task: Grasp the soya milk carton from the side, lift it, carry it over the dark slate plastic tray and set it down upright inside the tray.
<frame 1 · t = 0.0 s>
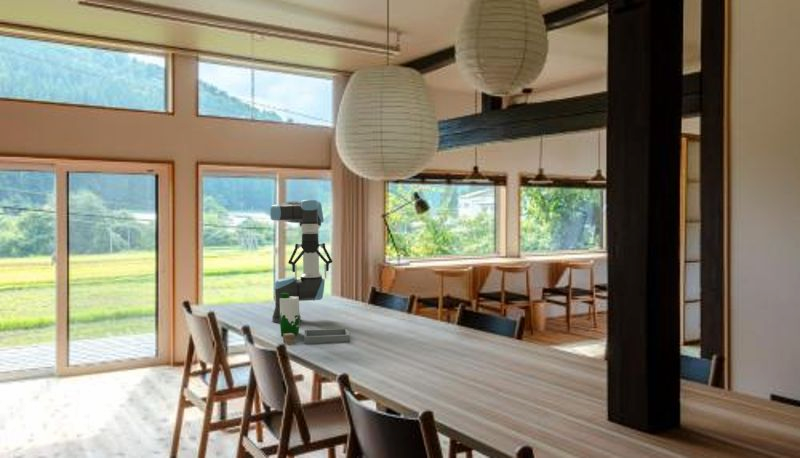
hand: (310, 278, 284), 28 cm above the table, fingers open, 13 cm apart
soya milk: (290, 335, 295), on the table
walnut block: (289, 342, 277), on the table
tray: (326, 339, 283), on the table
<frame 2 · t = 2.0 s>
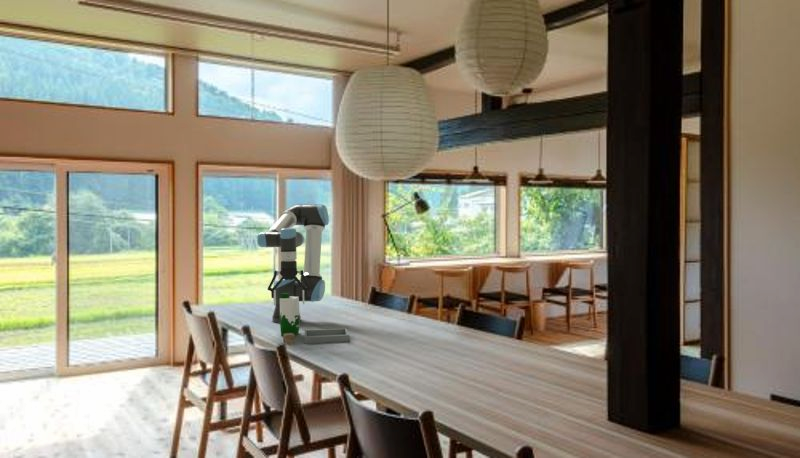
hand: (289, 304, 294), 15 cm above the table, fingers open, 13 cm apart
nothing on the table moved.
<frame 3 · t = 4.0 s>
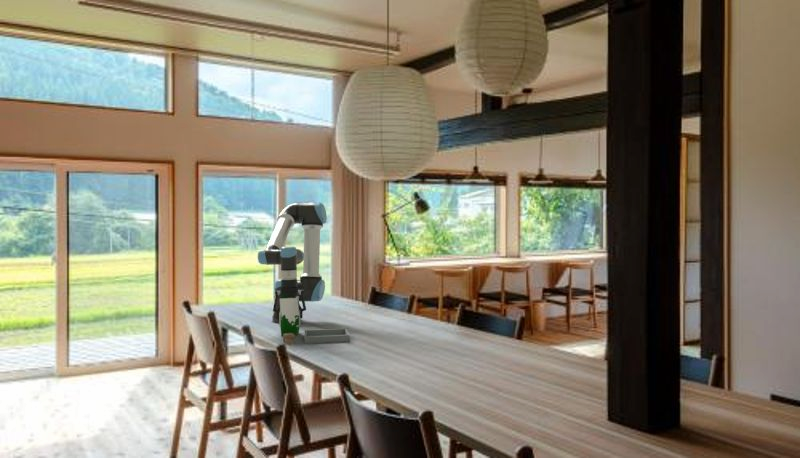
hand: (289, 325, 294), 4 cm above the table, fingers closed on soya milk, 8 cm apart
soya milk: (290, 334, 295), on the table, touching gripper
everything else where it was.
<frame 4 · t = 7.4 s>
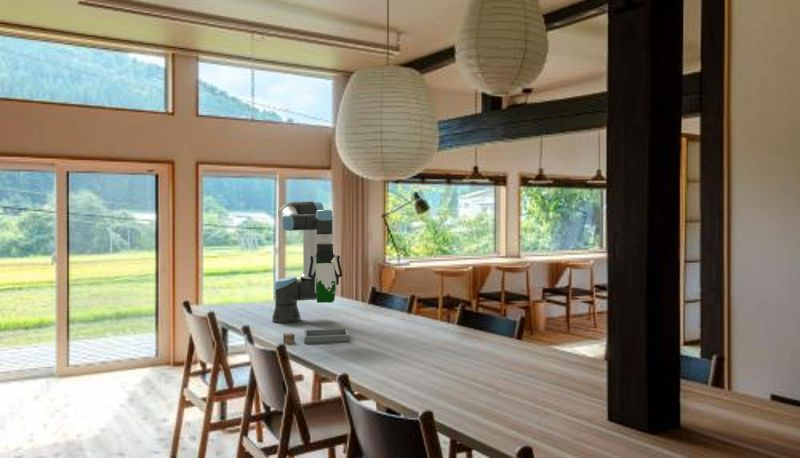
hand: (325, 292, 282), 22 cm above the table, fingers closed on soya milk, 8 cm apart
soya milk: (326, 301, 283), point 17 cm above the table, touching gripper
everything else where it was.
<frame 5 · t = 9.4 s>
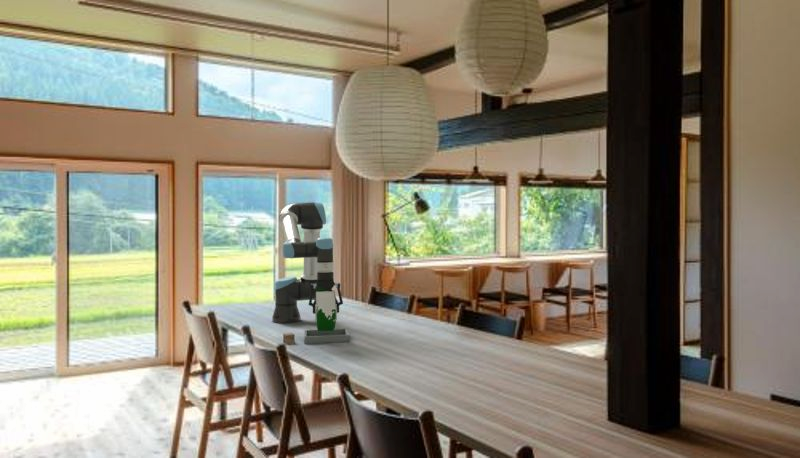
hand: (326, 320, 283), 9 cm above the table, fingers closed on soya milk, 8 cm apart
soya milk: (326, 329, 283), point 4 cm above the table, touching gripper
everything else where it was.
when the fingers open (7 cm above the table, at t = 10.8 s): soya milk drops 2 cm, resting on tray.
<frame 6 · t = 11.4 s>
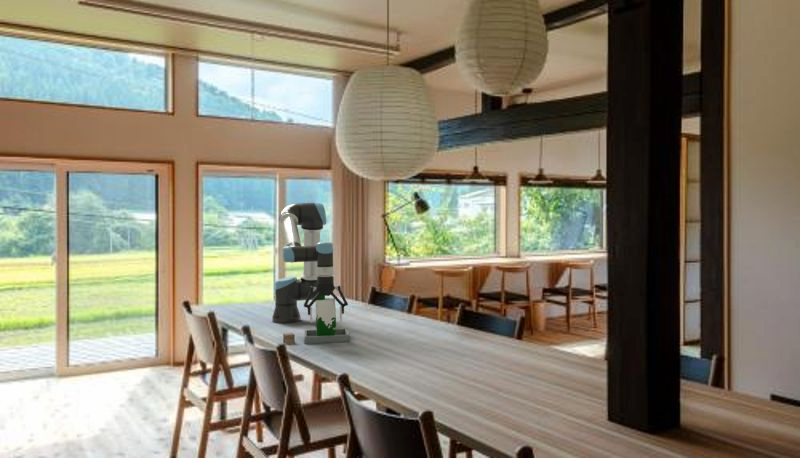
hand: (326, 321, 283), 8 cm above the table, fingers open, 13 cm apart
soya milk: (326, 338, 283), resting on tray
everything else where it was.
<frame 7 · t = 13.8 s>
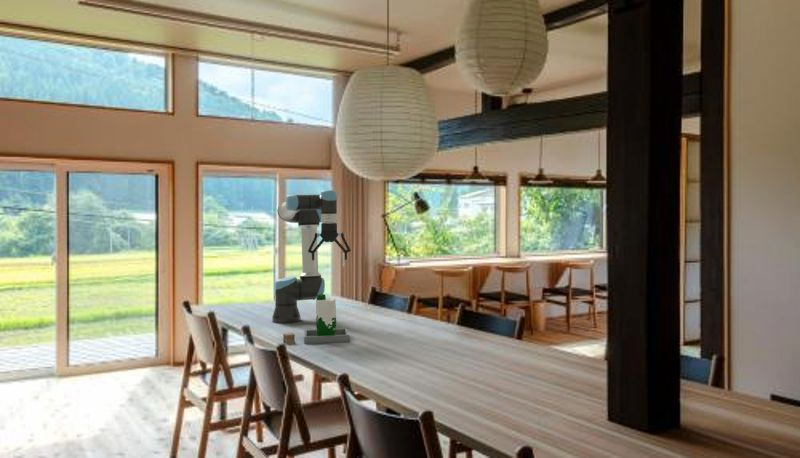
hand: (329, 266, 293), 33 cm above the table, fingers open, 13 cm apart
nothing on the table moved.
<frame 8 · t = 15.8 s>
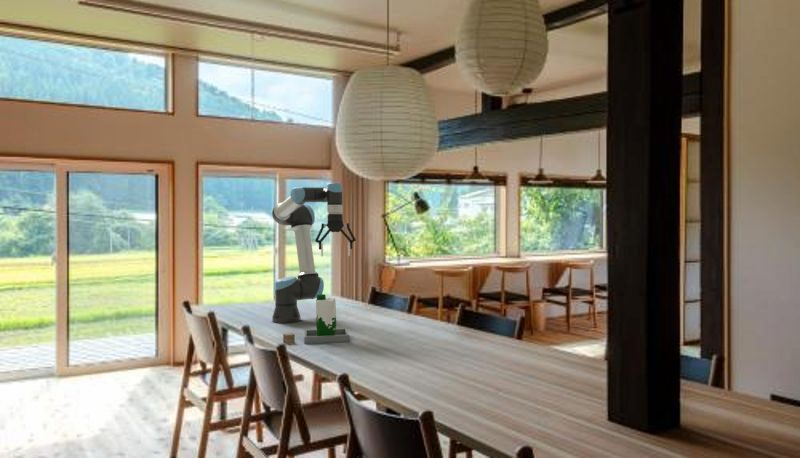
hand: (335, 255, 307), 37 cm above the table, fingers open, 13 cm apart
nothing on the table moved.
at the end: soya milk inside the target area on the tray (0.1 cm from its centre), point 0.4 cm above the tray's base; soya milk tilted 0°; the gripper is holding nothing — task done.
